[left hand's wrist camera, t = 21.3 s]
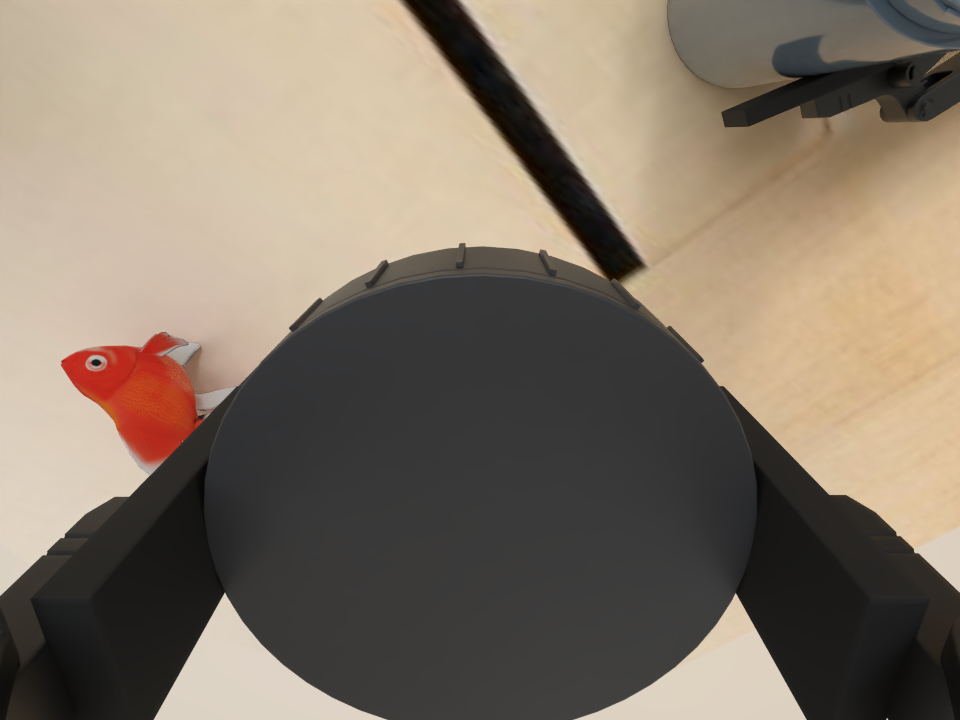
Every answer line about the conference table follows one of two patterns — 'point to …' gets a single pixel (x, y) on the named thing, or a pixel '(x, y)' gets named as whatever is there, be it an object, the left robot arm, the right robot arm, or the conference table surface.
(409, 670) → the lid
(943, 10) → the jar
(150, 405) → the fish
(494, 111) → the conference table surface
